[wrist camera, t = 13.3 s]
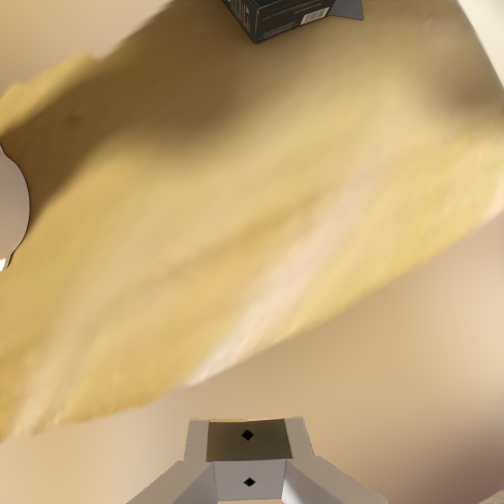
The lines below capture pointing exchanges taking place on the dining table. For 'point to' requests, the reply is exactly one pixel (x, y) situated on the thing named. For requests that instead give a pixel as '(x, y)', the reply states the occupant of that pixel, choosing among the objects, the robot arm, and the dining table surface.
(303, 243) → the dining table surface
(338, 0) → the mat
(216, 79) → the dining table surface
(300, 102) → the dining table surface
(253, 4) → the tampon box
